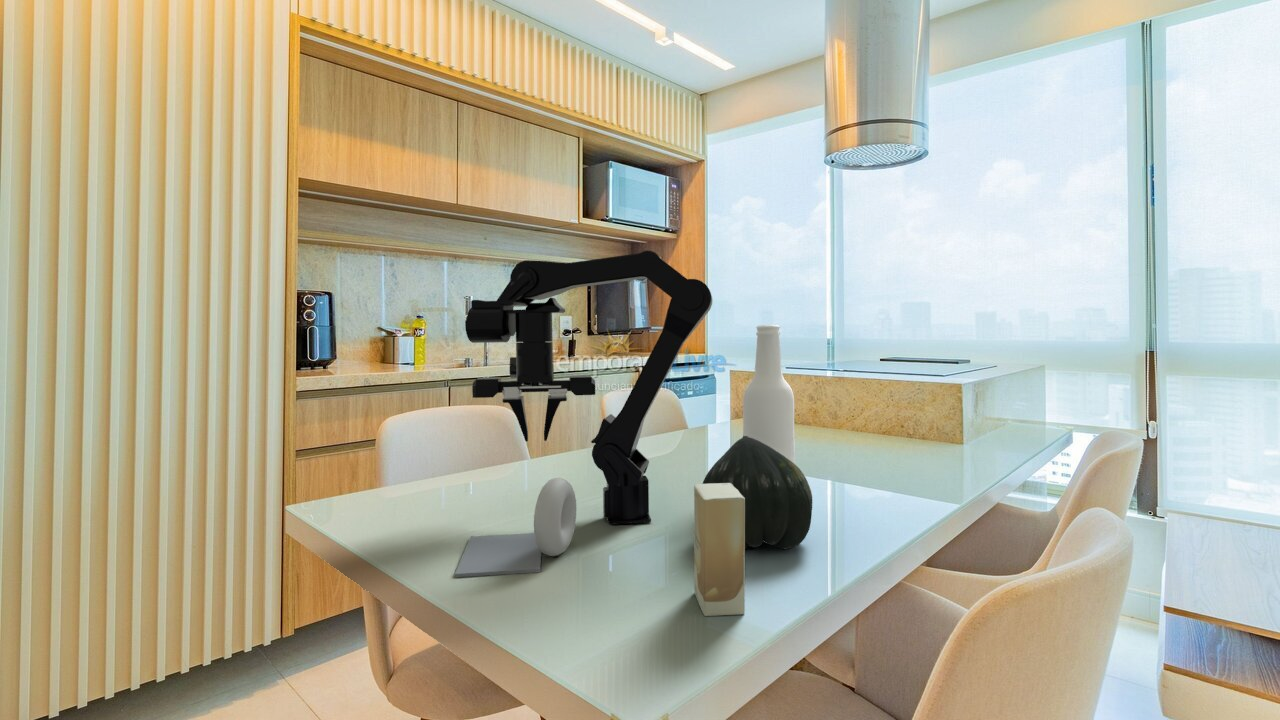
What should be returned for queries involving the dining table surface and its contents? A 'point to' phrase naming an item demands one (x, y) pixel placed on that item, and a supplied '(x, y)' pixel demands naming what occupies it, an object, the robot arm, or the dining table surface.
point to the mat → (500, 555)
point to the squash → (766, 493)
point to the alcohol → (769, 397)
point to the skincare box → (719, 549)
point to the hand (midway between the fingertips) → (536, 440)
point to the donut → (555, 516)
